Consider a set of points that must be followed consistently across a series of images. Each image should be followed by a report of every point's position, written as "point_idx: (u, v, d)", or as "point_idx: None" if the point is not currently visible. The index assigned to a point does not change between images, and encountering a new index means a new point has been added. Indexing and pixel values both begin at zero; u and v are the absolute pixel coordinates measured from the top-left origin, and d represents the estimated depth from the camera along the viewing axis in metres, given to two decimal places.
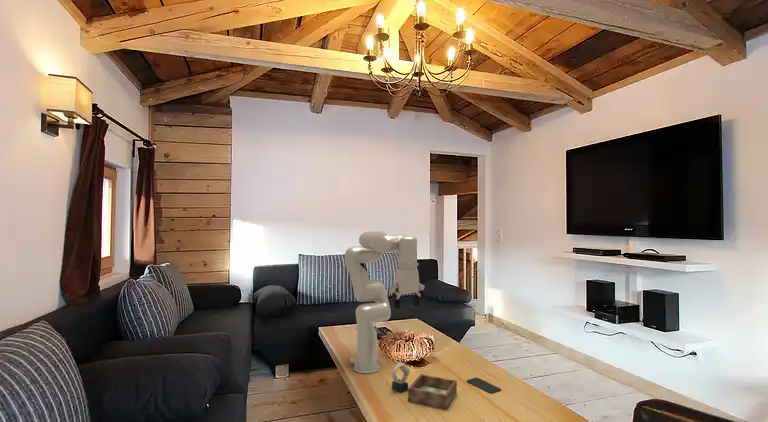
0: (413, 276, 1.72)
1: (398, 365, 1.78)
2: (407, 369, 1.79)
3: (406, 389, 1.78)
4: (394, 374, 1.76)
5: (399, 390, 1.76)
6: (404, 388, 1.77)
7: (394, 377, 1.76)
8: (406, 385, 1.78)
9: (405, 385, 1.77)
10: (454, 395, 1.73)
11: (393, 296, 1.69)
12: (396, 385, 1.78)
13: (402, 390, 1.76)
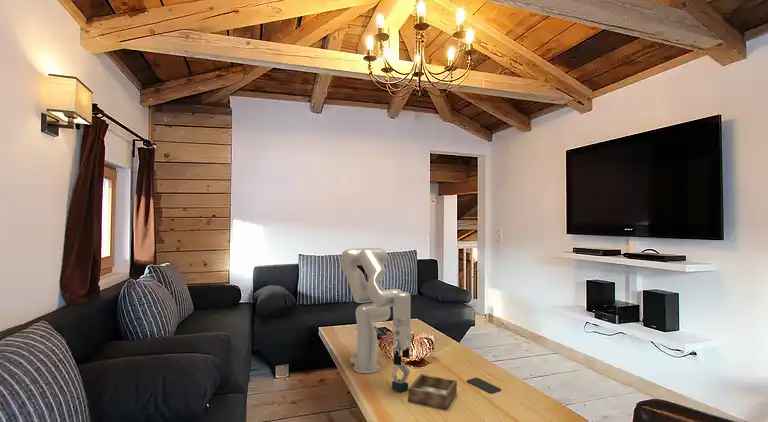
0: None
1: (398, 365, 1.78)
2: (407, 369, 1.79)
3: (406, 389, 1.78)
4: (394, 374, 1.76)
5: (399, 390, 1.76)
6: (404, 388, 1.77)
7: (394, 377, 1.76)
8: (406, 385, 1.78)
9: (405, 385, 1.77)
10: (454, 395, 1.73)
11: None
12: (396, 385, 1.78)
13: (402, 390, 1.76)
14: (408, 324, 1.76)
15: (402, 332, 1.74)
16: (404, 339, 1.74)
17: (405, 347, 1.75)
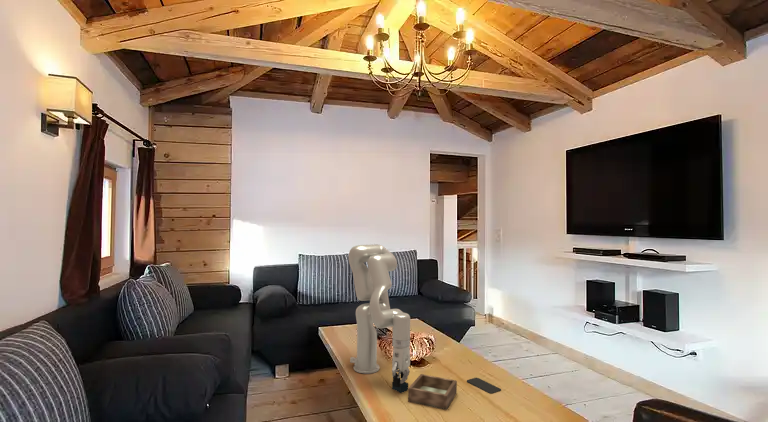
0: None
1: None
2: (407, 369, 1.79)
3: (406, 389, 1.78)
4: None
5: (399, 390, 1.76)
6: (404, 388, 1.77)
7: None
8: (406, 385, 1.78)
9: (405, 385, 1.77)
10: (454, 395, 1.73)
11: None
12: None
13: (402, 390, 1.76)
14: (407, 346, 1.76)
15: (401, 354, 1.74)
16: (403, 361, 1.75)
17: (404, 369, 1.75)
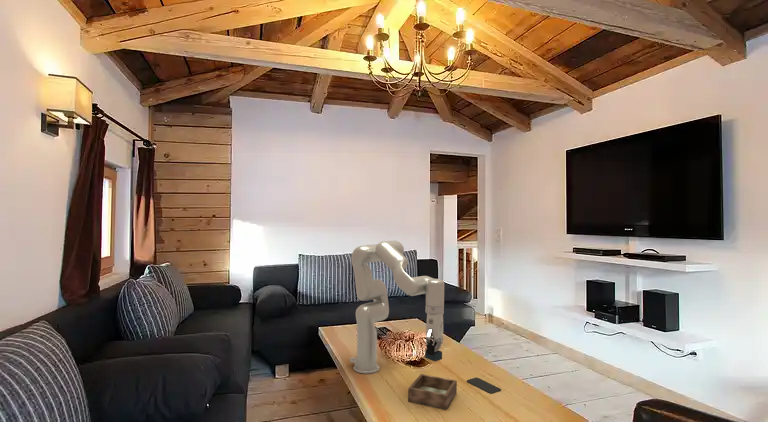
0: None
1: None
2: (441, 337, 1.72)
3: (440, 358, 1.71)
4: None
5: (433, 358, 1.69)
6: (439, 356, 1.70)
7: None
8: (440, 353, 1.71)
9: (439, 353, 1.70)
10: (454, 395, 1.73)
11: None
12: None
13: (436, 358, 1.69)
14: (442, 312, 1.69)
15: (436, 320, 1.67)
16: (438, 328, 1.68)
17: (438, 336, 1.68)
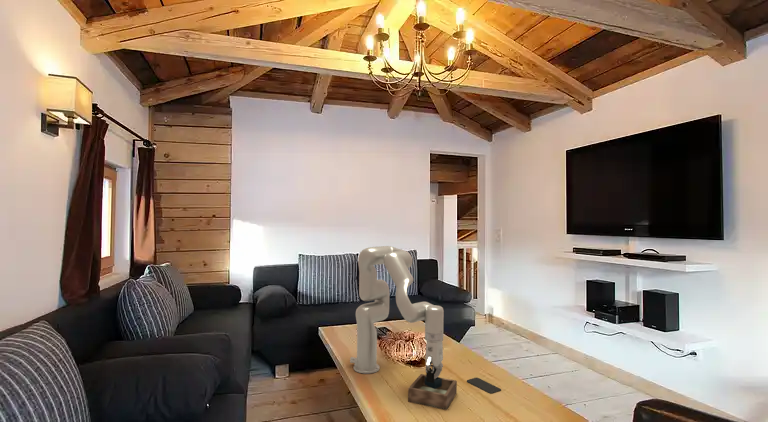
0: None
1: None
2: (441, 364, 1.72)
3: (440, 385, 1.71)
4: None
5: (433, 386, 1.69)
6: (438, 383, 1.70)
7: None
8: (440, 380, 1.71)
9: (439, 380, 1.70)
10: (454, 395, 1.73)
11: None
12: None
13: (436, 386, 1.69)
14: (441, 339, 1.69)
15: (435, 348, 1.67)
16: (437, 356, 1.68)
17: (438, 363, 1.68)
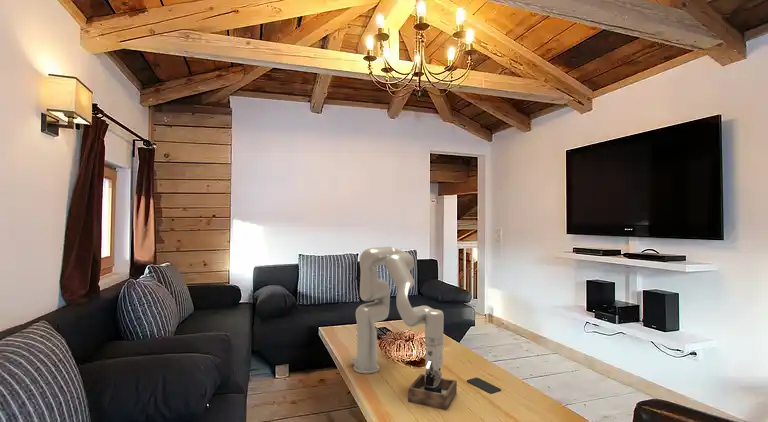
0: None
1: None
2: (440, 373, 1.72)
3: None
4: None
5: None
6: (438, 392, 1.71)
7: None
8: (439, 389, 1.71)
9: (438, 389, 1.71)
10: (454, 395, 1.73)
11: None
12: (429, 390, 1.71)
13: None
14: (441, 344, 1.70)
15: (435, 352, 1.67)
16: (437, 360, 1.68)
17: (438, 367, 1.68)
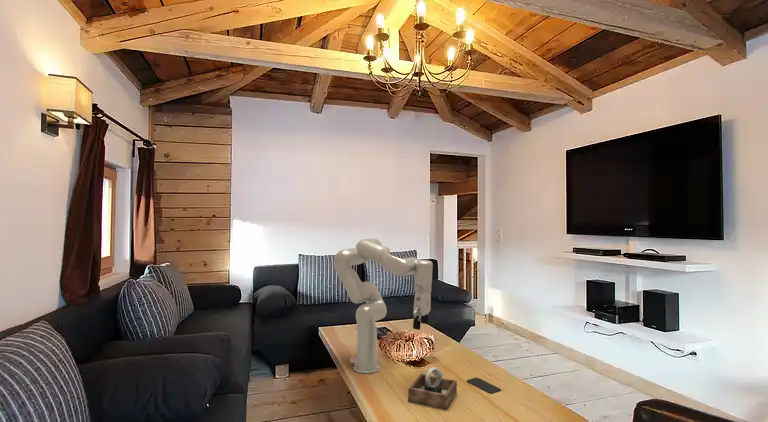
0: None
1: (431, 369, 1.72)
2: (440, 373, 1.72)
3: None
4: (427, 378, 1.70)
5: None
6: None
7: (427, 381, 1.70)
8: (439, 390, 1.72)
9: (438, 390, 1.71)
10: (454, 395, 1.73)
11: None
12: (429, 390, 1.71)
13: None
14: (429, 291, 1.81)
15: (423, 298, 1.79)
16: (424, 306, 1.80)
17: (425, 313, 1.81)
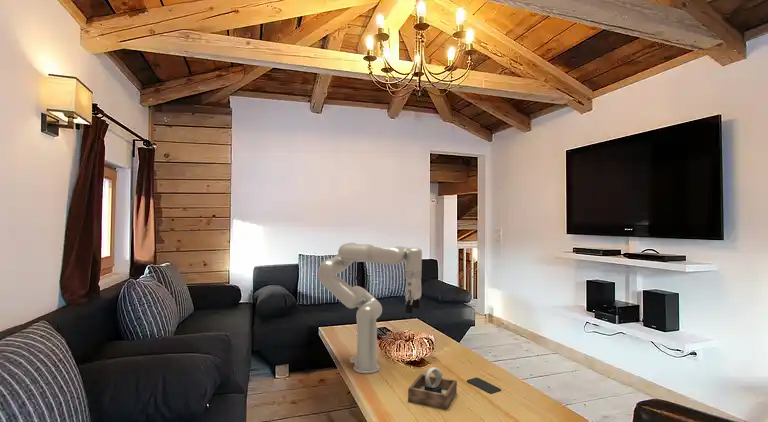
0: None
1: (431, 369, 1.72)
2: (440, 373, 1.72)
3: None
4: (427, 378, 1.70)
5: None
6: None
7: (427, 381, 1.70)
8: (439, 390, 1.72)
9: (438, 390, 1.71)
10: (454, 395, 1.73)
11: None
12: (429, 390, 1.71)
13: None
14: (419, 276, 1.92)
15: (414, 283, 1.90)
16: (416, 290, 1.90)
17: (416, 297, 1.91)
